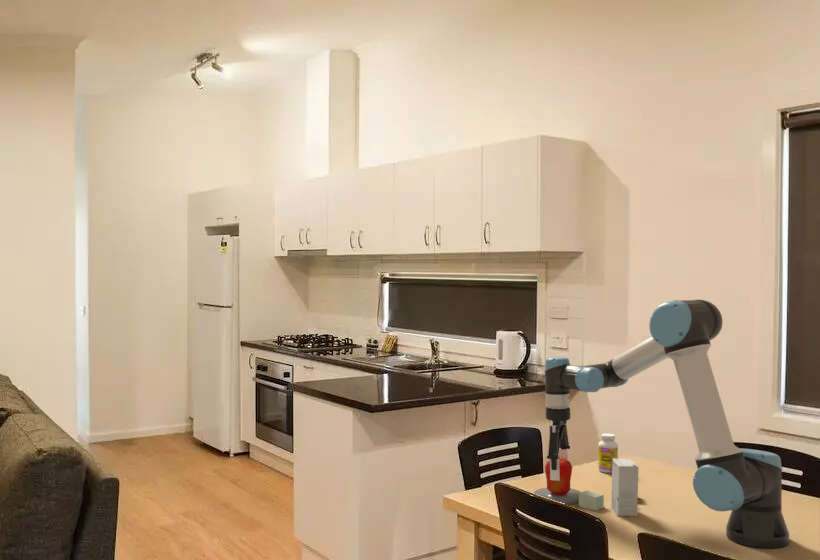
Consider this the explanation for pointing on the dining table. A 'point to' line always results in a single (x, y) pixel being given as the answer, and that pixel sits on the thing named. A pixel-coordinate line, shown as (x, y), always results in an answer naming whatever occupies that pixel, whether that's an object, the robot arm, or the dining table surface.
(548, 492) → the plate
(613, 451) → the supplement bottle
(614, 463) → the skincare box
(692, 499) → the dining table surface
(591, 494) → the sage block
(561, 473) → the red bell pepper
